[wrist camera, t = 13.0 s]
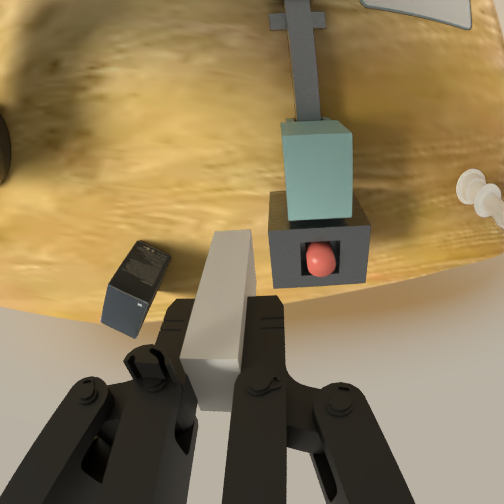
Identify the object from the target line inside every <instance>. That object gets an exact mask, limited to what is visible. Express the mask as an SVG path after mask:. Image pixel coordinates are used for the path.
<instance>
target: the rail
mask: <svg viewBox="0 0 504 504" xmlns="http://www.w3.org/2000/svg"><path fill="white" fill-rule="evenodd" d="M310 1H313V0H276V2H283V4H284V12H285V13H272V14H269V22H270V30H271V31H273V30H287V36H288V45H289V54H290V63H291V73H292V83H293V94H294V105H295V117H296V122H300V121H321V114H320V99H319V86H318V74H317V63H316V52H315V43H314V33H313V29H325V28H326V22H325V14H324V12H311V9H310Z"/></svg>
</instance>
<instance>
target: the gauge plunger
mask: <svg viewBox="0 0 504 504" xmlns="http://www.w3.org/2000/svg"><path fill="white" fill-rule="evenodd" d="M305 251H306V258H307V266H308V270H309V272H310V273H311V274H312V275H314V276H317V277H324V276H327V275H329V274H331V273H332V272H333V271H334V269H335V267H336V262H335V258H334V254H333V250H332V246H331V243H330V241H320V242H306V244H305Z"/></svg>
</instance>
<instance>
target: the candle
mask: <svg viewBox="0 0 504 504" xmlns="http://www.w3.org/2000/svg"><path fill="white" fill-rule="evenodd" d="M456 193H457V197H458V199H459V200H460V201H461V202H462V203H464V204H468V205H469V204H474V208H475V211H476V213H477V214H478V215H479V216H481V217H489V216H491V217H493V218H494V219H495V222H496V224H497V225H498V226H499V227H501V228H503V229H504V201H503V200H501V192H500V189H499V188H498V186H496V185H495V184H491V183H490V184H486V180H485V177H484V175H483V173H482V172H481V171H480V170H478V169H468V170H466V171H465V172H464V173H463V174H462V175H461V176H460V177H459V179H458V182H457V185H456Z"/></svg>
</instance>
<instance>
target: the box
mask: <svg viewBox="0 0 504 504" xmlns="http://www.w3.org/2000/svg"><path fill="white" fill-rule="evenodd" d="M170 259H171V255H168V254H166V253H164V252H162V251H160V250H158V249H156V248H154V247H152V246H150V245H147V244H145V243H143V242H141V241H137V242H136V243H135V245H134V246H133V248H132V249H131V251H130V252H129V254H128V255H127V256H126V258H125V259H124V261H123V262H122V264H121V265H120V267H119V268H118V270H117V271H116V273H115V274H114V276H113V277H112V279H111V281H110V282H109V284H108V287H107V292H106V296H105V301H104V306H103V311H102V316H101V321H100V322H101V323H103V324H105V325H107V326H109V327H111V328H113V329H115V330H118V331H120V332H122V333H124V334H126V335H128V336H130V337H132V338H134V339H136V338H137V336H138V333H139V331H140V329H141V327H142V324H143V322H144V320H145V317H146V315H147V313H148V311H149V308H150V306H151V304H152V302H153V300H154V298H155V295H156V293H157V291H158V289H159V287H160V284H161V282H162V279H163V277H164V274H165V272H166V269H167V266H168V264H169V262H170Z"/></svg>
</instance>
